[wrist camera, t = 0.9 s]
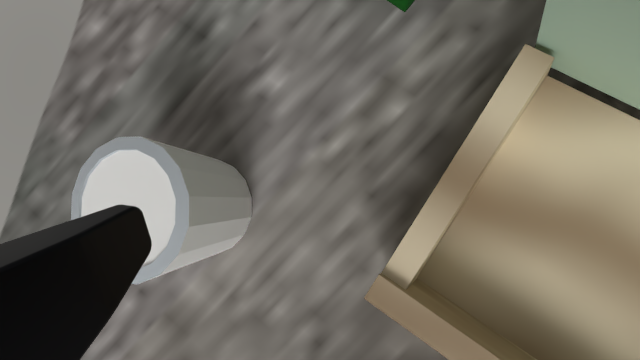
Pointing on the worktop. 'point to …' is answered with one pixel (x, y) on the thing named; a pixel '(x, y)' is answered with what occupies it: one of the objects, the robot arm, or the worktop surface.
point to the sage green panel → (595, 44)
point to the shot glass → (167, 199)
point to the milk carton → (402, 4)
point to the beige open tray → (528, 232)
